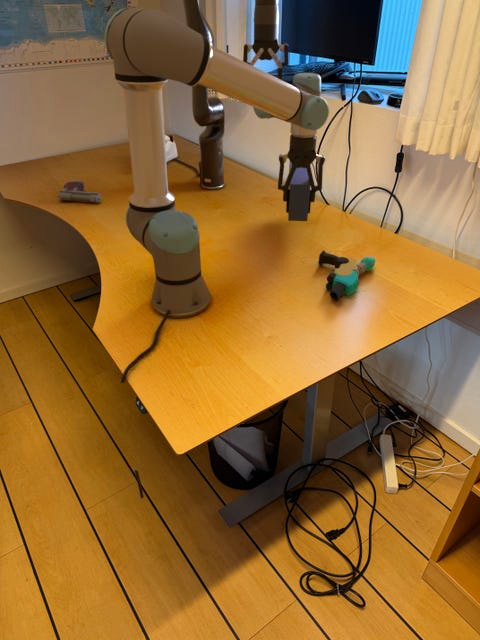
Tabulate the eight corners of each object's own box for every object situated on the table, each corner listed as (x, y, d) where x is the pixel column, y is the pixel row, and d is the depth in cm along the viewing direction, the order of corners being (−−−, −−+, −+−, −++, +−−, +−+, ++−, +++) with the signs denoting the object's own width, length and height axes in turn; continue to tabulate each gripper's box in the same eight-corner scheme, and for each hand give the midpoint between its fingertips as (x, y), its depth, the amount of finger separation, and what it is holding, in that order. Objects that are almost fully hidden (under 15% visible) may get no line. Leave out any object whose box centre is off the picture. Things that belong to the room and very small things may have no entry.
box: (307, 221, 147) (310, 184, 140) (288, 220, 147) (290, 184, 140) (304, 193, 166) (307, 160, 159) (287, 193, 166) (289, 159, 160)
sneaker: (133, 173, 208) (129, 144, 201) (161, 153, 230) (158, 127, 223) (155, 175, 205) (151, 146, 198) (180, 155, 227) (178, 129, 220)
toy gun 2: (295, 281, 124) (351, 295, 119) (328, 242, 143) (378, 253, 137) (294, 295, 127) (349, 310, 121) (327, 255, 145) (375, 266, 140)
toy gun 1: (114, 191, 191) (98, 206, 179) (71, 188, 194) (53, 202, 182) (113, 181, 188) (96, 196, 177) (69, 179, 192) (50, 192, 180)
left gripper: (335, 131, 137) (327, 207, 151) (270, 130, 139) (268, 205, 152) (338, 138, 131) (329, 217, 145) (269, 137, 133) (267, 215, 146)
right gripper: (289, 20, 146) (287, 79, 156) (243, 21, 147) (244, 79, 157) (290, 22, 140) (287, 83, 150) (242, 23, 141) (242, 83, 150)
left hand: (297, 211), depth 148 cm, fingers closed on box, 6 cm apart
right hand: (265, 81), depth 153 cm, fingers open, 8 cm apart
